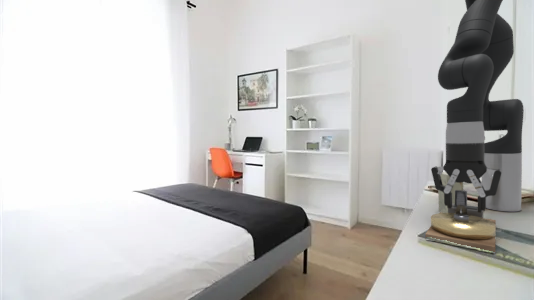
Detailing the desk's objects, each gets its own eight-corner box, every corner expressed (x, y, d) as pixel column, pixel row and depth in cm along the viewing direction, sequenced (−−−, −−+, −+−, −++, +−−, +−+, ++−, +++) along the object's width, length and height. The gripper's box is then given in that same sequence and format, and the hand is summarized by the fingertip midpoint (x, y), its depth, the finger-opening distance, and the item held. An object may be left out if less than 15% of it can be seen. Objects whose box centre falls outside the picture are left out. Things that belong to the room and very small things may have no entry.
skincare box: (464, 217, 74) (464, 174, 73) (447, 216, 75) (447, 174, 74) (453, 210, 80) (453, 171, 79) (437, 210, 81) (437, 171, 80)
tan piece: (439, 217, 74) (439, 201, 74) (495, 225, 66) (495, 207, 66) (425, 240, 59) (425, 220, 59) (495, 254, 51) (495, 231, 51)
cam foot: (432, 217, 69) (432, 187, 69) (492, 225, 62) (492, 192, 62) (428, 232, 59) (428, 197, 59) (498, 243, 52) (499, 204, 52)
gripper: (426, 142, 65) (427, 208, 66) (503, 141, 55) (502, 219, 56) (433, 141, 71) (434, 202, 72) (505, 140, 61) (504, 211, 62)
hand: (464, 209), depth 64 cm, fingers open, 5 cm apart
